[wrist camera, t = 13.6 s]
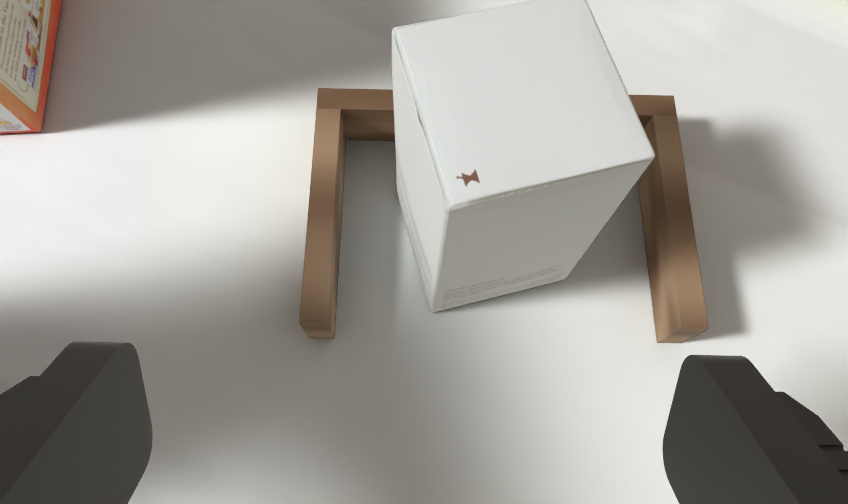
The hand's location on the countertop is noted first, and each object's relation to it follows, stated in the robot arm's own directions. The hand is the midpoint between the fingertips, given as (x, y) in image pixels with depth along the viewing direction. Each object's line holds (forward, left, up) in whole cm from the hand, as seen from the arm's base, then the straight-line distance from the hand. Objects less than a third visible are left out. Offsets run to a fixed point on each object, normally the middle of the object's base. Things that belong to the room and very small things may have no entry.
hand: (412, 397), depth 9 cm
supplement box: (+11, +3, -21) cm, 24 cm away
